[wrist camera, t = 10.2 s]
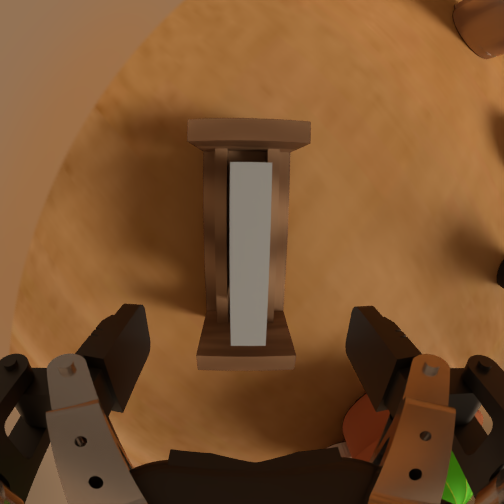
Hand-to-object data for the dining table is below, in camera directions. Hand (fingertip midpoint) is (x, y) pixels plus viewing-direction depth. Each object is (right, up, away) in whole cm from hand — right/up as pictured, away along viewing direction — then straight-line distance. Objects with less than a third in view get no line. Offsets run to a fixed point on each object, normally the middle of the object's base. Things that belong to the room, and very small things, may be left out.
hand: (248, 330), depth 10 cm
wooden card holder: (0, +5, +18) cm, 18 cm away
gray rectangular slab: (0, +5, +16) cm, 17 cm away
